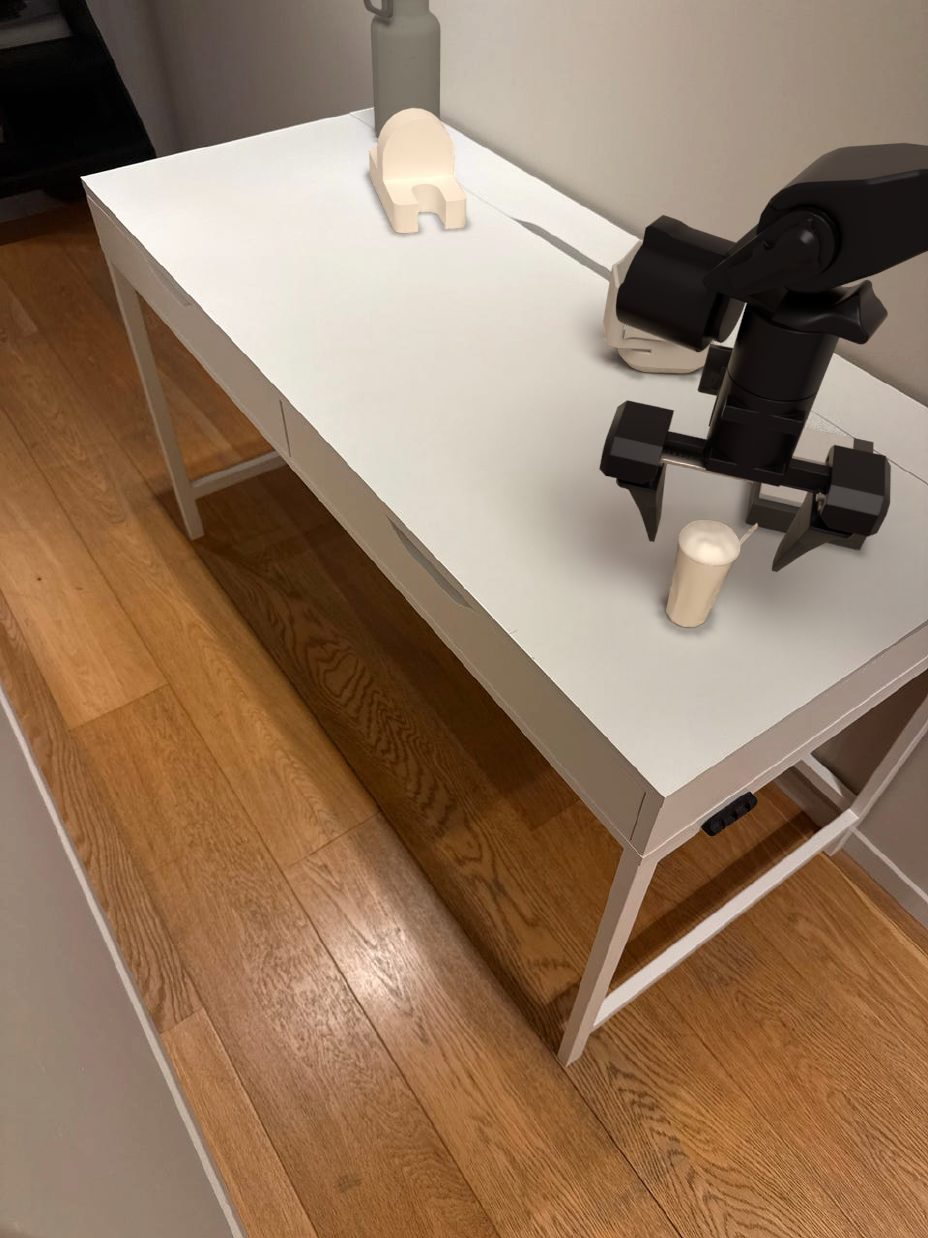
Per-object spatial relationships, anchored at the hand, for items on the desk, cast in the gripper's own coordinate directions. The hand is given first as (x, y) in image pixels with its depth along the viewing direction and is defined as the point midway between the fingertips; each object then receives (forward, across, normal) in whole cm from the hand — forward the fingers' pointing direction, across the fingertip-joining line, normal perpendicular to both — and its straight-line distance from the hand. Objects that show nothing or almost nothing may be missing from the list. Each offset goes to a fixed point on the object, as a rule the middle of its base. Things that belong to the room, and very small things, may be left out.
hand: (712, 552), depth 67 cm
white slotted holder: (+7, +47, -62) cm, 78 cm away
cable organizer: (+7, +10, -35) cm, 37 cm away
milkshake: (+7, 0, 0) cm, 7 cm away
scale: (+7, -8, -19) cm, 22 cm away
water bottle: (+7, +56, -82) cm, 100 cm away
